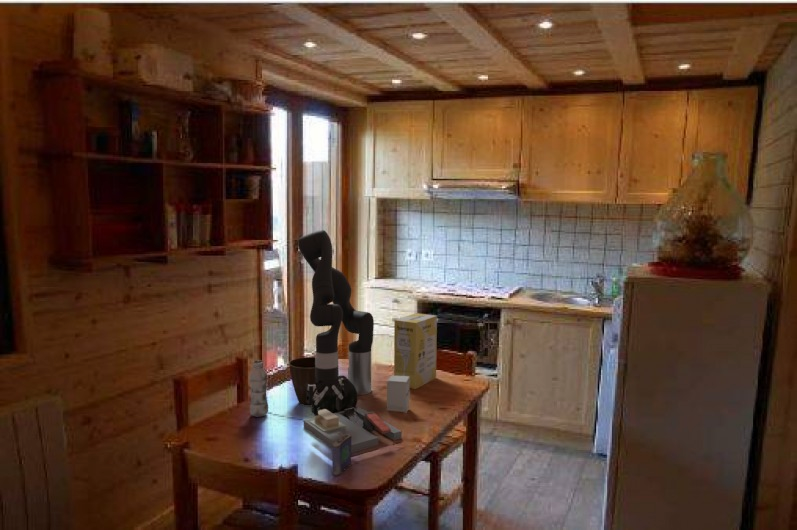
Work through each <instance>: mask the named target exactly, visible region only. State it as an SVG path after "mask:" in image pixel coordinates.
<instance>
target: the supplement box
mask: <svg viewBox="0 0 797 530" xmlns="http://www.w3.org/2000/svg"><path fill="white" fill-rule="evenodd" d="M409 378H410V377H409V376H394V375H393V374H392V375H390V377H389V378H388V379H387V381H386V411H388V412H400V413H401V412H402V413H404V414H407V413H408V411H409V409H410V388H409Z"/></svg>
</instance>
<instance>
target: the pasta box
mask: <svg viewBox="0 0 797 530" xmlns="http://www.w3.org/2000/svg"><path fill="white" fill-rule="evenodd" d="M393 327H394V328H393V329H394V333H393V334H394V335H393V336H394V337H393V338H394V340H393V342H394V343H393V346H394V352H393V357H394V358H393V360H394V361H393V365H394V366H393V376H409V377H410V378H409V389H414V390H416V389H418V388H420V387H422V386H424V385H426V384H428V383H429V382H432V381H433V380H435V379H437V353H438V351H437V347H438V346H437V341H438V340H437V337H438V336H437V335H438V334H437V333H438V329H437V328H438V315H433V314H428V313H427V314H426V313H418V312H417V313H412V314H409V315H407V316H404V317H403V316H402V317H400V318H397V319H394V326H393ZM434 378H435V379H434Z"/></svg>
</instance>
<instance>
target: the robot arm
mask: <svg viewBox="0 0 797 530" xmlns="http://www.w3.org/2000/svg"><path fill="white" fill-rule="evenodd" d="M297 245H298V246H297V247H298V250H299V252H300V253H301V255H302V257H303V258H304V260H305V261H306V263H307V264H308V265H309V266H310V268H311V270H312V271H313V272H314V273H313V276H312V279H311V289H312V299H313V300H312V305H311V309H310V313H309V319H310V323H311V324H312V325H313V326H315V327H330V328H329V329H328V330H326V331H323V332H320V333H318V334H317V335H316V336H315V337H316V338H315V356H314V357H315V375H316V383H315V385H310V384H308V385H307V388H306V402H307V403H309V404H312V405H311V413H312V415H315V416H317V415H318V411H319V408H318V402H319V401H320V399H322V397H323V396H327V395H332V394H333V393H334V394H335V395H336V397H337V398H336V409H337V410H341V408H342V399H343V397H346V396H348V390H347V380H346V379H344V378H341V379H339V380H338V377H339V376H340V375H339V352H338V351H339V350H338V346H339V345H338V342H339V341H338V340H339V339H338V338H339V333H340V329H341V325H342V324H343V326H344V328H345V330H346V331H347V332H348V333H351V334H356V335H358V339H357V340H354V341H351V342H350V343H349V344H348V368H347V379H348V380H349V381H350V382H351V383H352V384H353V385H354V386H355V388H356V391H357V396H360V395H361V396H363V395H368V394H370V393H372V346H373V343H374V328H375V323H374V322H375V321H374V317H373V315H372V313H370V312H367V311H363V310H362V311H361V310H356V309H355V308H354V307H353V306H352V304H351V301H350V300H351V296H352V287H351V285H350V283H349V281H348V279H347V278H346V275H345V274H344V273H343V272H342V271H340V270H339V269H337V268H334V267H333V244H332V240H331V238H330V236H329V234H328V232H326V230H324V229H319V230H316V231H313V232H311V233H308V234H306V235H302V236H300V237H299V238H298V240H297ZM339 384H340V385H341V393H340V392H339V391H338V389H337V387H338V385H339ZM315 388H316V389H317V390H316V392H315V394H314V397H313V391H314V389H315ZM319 393H320V394H319Z"/></svg>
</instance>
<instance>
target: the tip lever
mask: <svg viewBox="0 0 797 530" xmlns="http://www.w3.org/2000/svg"><path fill="white" fill-rule="evenodd" d="M344 415H345V416H346V418H347V419H349V420H351V421H352V422H354V423H355V424H357V425H359V426H360V427H362V428H364V429H365V430H367V431H368V432H373V429H374V426H375V427H376V428H377V429H378V430H379V431H380V432H381V435H384V433H387V432H390V431H391V429H390V428H389V427H388V426H387V425H386V424H385V423H384V422H383V421H384V420H383V419H382V418H380V416H379V415H377V414H376V412H374V410H372V411H367V413H365V415H364V421H362V419H361V418H360V417H359V416H358V415H357V414H356V413H355V412H354V407H352V408H348V409H345V411H344ZM382 420H383V421H382ZM373 425H374V426H373ZM379 431H378V432H379ZM380 432H379V433H380Z"/></svg>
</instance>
